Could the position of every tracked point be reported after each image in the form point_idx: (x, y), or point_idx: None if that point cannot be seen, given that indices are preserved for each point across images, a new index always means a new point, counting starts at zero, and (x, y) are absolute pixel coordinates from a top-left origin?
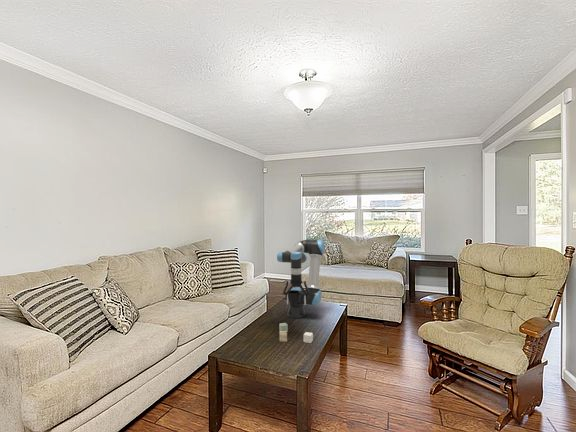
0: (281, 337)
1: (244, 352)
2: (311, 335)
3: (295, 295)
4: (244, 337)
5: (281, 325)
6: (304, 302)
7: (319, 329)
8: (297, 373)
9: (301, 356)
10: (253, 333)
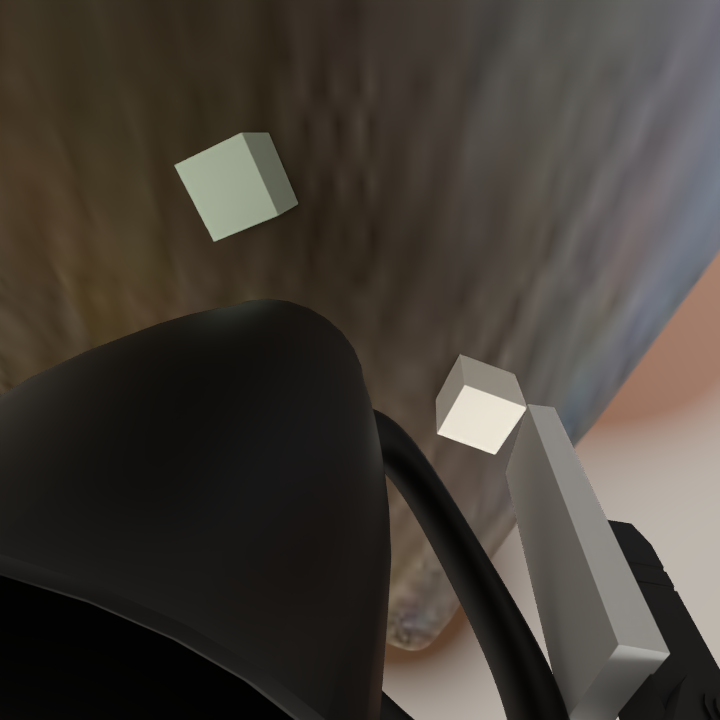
0: None
1: None
2: (505, 434)
3: None
4: (5, 319)
5: (213, 226)
6: (516, 517)
7: (657, 116)
8: (388, 637)
9: (410, 546)
10: (24, 245)
